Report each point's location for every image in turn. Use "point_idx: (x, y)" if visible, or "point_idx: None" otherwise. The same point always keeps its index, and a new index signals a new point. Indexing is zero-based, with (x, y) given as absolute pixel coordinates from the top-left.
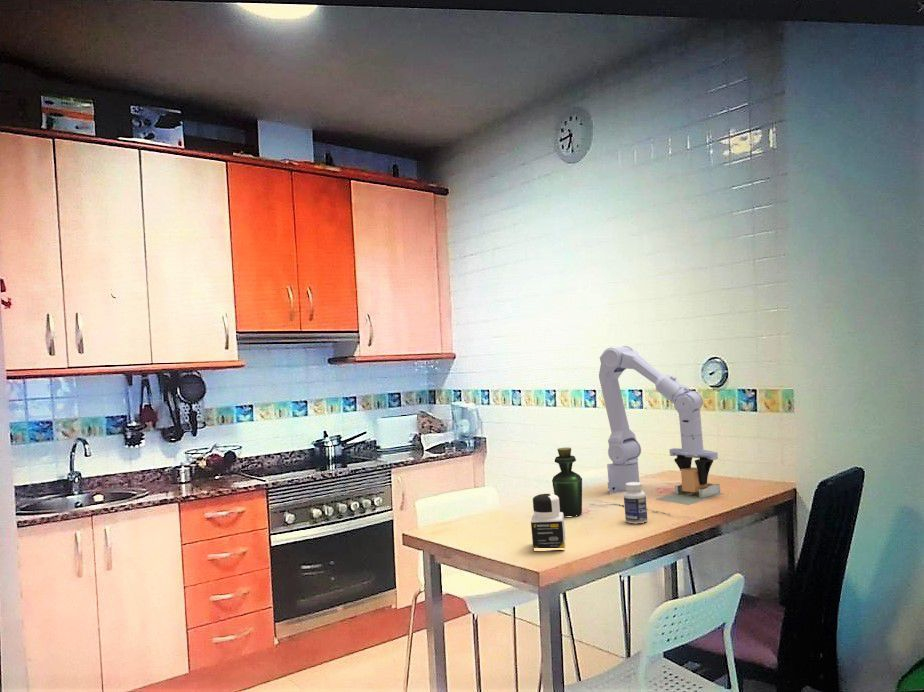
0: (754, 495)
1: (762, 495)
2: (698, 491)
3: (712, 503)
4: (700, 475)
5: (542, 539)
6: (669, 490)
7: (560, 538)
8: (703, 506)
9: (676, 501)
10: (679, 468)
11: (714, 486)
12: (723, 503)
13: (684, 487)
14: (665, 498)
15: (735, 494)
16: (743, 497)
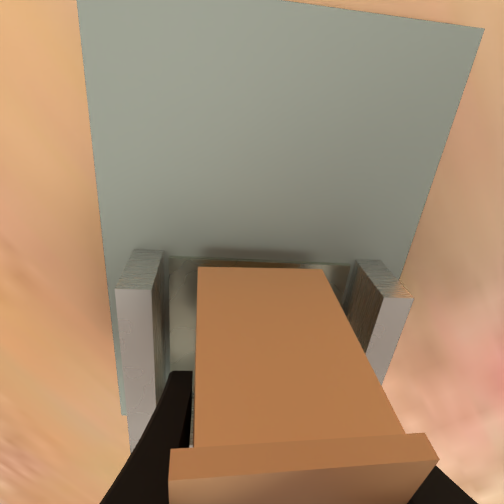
0: (46, 477)
1: (17, 490)
2: None
3: (88, 261)
4: (151, 446)
5: None
6: (475, 379)
7: None
8: (72, 155)
9: (261, 50)
10: (464, 492)
11: (127, 417)
12: (32, 293)
13: (305, 287)
14: (404, 110)
15: None
16: (56, 434)
